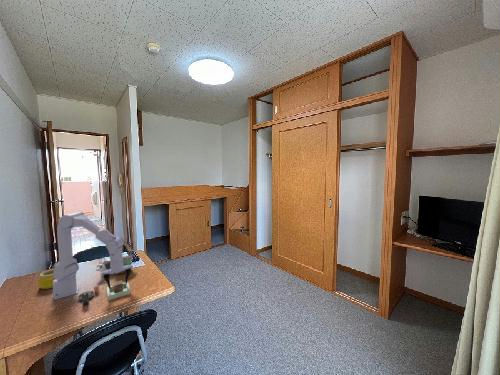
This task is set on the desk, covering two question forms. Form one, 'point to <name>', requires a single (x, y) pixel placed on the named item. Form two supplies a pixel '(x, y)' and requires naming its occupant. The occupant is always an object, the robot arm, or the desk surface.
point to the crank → (85, 297)
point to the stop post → (96, 289)
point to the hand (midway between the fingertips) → (118, 285)
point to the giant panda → (104, 266)
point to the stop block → (118, 286)
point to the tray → (119, 294)
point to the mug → (46, 279)
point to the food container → (125, 263)
